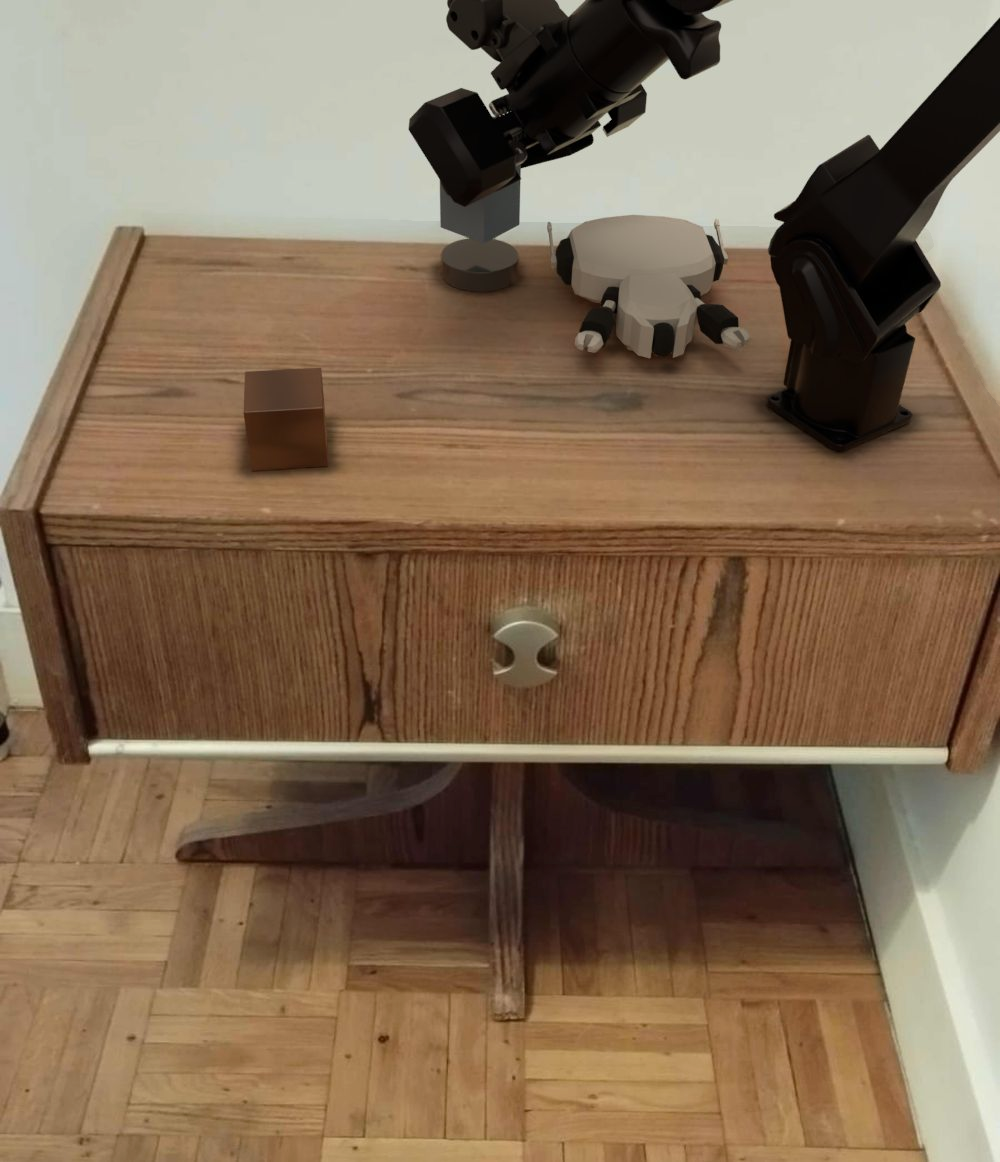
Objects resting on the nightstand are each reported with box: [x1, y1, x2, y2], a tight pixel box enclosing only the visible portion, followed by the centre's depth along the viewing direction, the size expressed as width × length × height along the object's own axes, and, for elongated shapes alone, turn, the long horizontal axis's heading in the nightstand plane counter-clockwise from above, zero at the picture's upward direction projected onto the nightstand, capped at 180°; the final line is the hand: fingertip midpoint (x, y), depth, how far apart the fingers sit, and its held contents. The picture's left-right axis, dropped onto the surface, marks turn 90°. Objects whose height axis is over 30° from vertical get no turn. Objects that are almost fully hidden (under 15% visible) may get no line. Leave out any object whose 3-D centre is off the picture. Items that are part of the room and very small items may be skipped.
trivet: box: [440, 237, 520, 293], centre depth 93 cm, size 6×6×2 cm
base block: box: [243, 367, 329, 472], centre depth 75 cm, size 4×4×4 cm
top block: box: [439, 131, 522, 243], centre depth 89 cm, size 4×4×7 cm
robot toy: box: [546, 214, 751, 359], centre depth 87 cm, size 12×4×15 cm
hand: (465, 179), depth 89 cm, fingers closed on top block, 4 cm apart
